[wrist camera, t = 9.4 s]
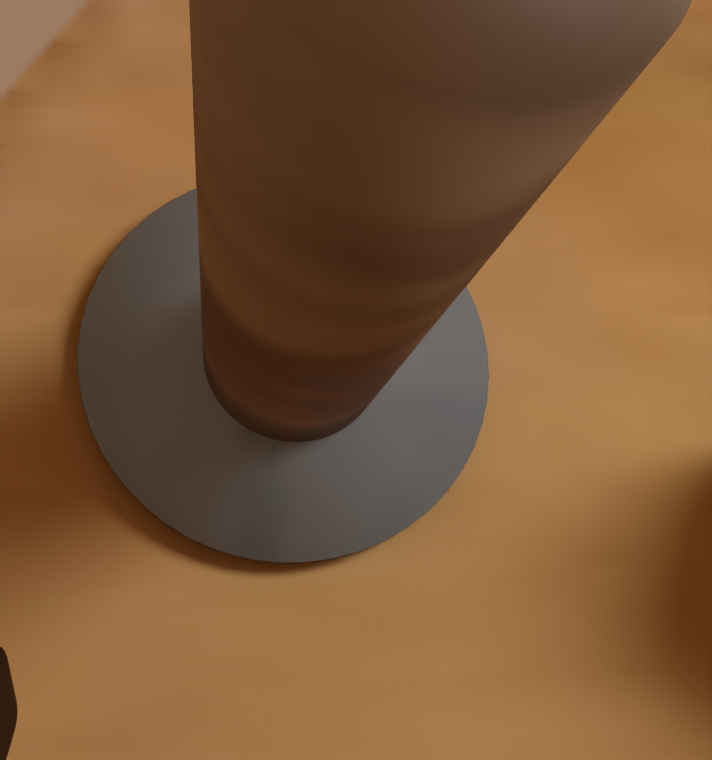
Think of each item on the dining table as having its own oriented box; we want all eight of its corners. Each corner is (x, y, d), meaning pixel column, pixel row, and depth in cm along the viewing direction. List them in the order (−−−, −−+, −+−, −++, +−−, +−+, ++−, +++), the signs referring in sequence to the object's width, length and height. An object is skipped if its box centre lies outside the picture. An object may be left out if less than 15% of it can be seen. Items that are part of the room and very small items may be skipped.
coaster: (264, 660, 16) (265, 662, 16) (-9, 319, 17) (-15, 311, 17) (555, 389, 20) (563, 384, 20) (315, 123, 21) (317, 112, 21)
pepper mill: (282, 480, 17) (452, 201, 5) (165, 337, 18) (60, -230, 6) (416, 369, 19) (788, -42, 7) (305, 242, 19) (463, -357, 7)
